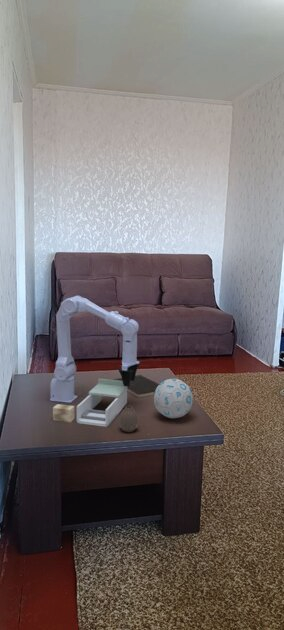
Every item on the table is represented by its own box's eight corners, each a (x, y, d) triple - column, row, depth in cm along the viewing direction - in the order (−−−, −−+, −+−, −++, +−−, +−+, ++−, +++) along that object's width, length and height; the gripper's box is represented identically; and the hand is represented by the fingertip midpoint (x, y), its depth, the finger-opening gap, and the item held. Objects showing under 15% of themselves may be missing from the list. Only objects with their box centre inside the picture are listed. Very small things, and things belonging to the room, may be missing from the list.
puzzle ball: (158, 425, 172) (159, 386, 170) (149, 410, 187) (150, 374, 184) (197, 423, 175) (199, 385, 173) (185, 408, 190) (187, 373, 187)
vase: (131, 435, 163) (131, 411, 162) (115, 430, 167) (115, 407, 165) (141, 428, 169) (142, 405, 168) (125, 424, 173) (126, 401, 171)
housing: (76, 423, 173) (76, 406, 172) (99, 400, 197) (99, 385, 196) (107, 427, 170) (107, 410, 169) (126, 403, 194) (127, 388, 193)
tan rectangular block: (52, 420, 175) (52, 407, 174) (57, 416, 179) (57, 404, 178) (70, 422, 173) (70, 409, 173) (74, 418, 177) (74, 406, 176)
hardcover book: (137, 399, 201) (138, 393, 201) (112, 384, 220) (112, 379, 220) (168, 393, 210) (168, 388, 209) (141, 379, 229) (141, 374, 228)
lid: (88, 394, 184) (88, 387, 184) (98, 384, 196) (98, 378, 195) (118, 397, 181) (118, 390, 181) (127, 387, 193) (127, 381, 192)
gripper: (134, 355, 178) (133, 389, 181) (143, 347, 192) (142, 378, 195) (116, 354, 180) (116, 387, 182) (127, 345, 194) (126, 377, 196)
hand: (129, 383), depth 189 cm, fingers open, 7 cm apart
